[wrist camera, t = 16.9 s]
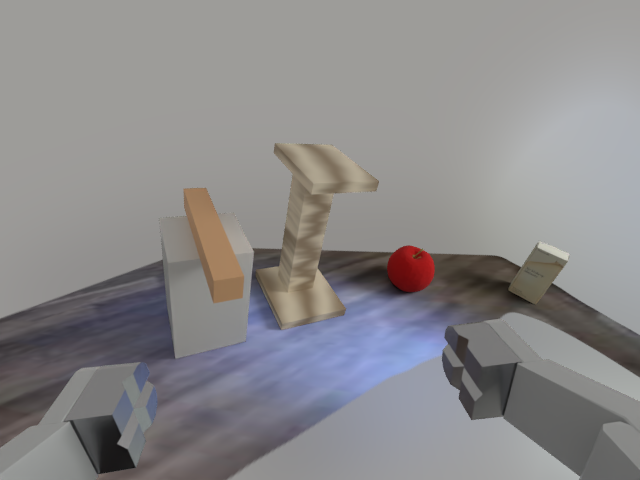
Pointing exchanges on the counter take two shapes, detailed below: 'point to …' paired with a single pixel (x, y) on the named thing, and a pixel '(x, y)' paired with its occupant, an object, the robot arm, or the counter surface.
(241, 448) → the counter surface
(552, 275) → the skincare box
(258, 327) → the counter surface
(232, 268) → the bar
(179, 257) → the pedestal
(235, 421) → the counter surface
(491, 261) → the counter surface
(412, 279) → the fruit
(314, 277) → the tall stand
